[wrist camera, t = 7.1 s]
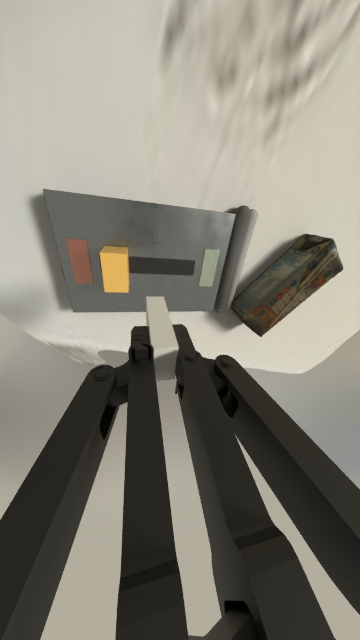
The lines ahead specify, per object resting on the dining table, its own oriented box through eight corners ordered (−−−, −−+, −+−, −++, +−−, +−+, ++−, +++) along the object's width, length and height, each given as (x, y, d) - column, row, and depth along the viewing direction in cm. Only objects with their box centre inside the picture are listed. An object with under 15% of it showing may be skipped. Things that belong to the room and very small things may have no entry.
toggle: (104, 245, 24) (99, 252, 20) (127, 247, 24) (126, 254, 21) (108, 281, 26) (104, 292, 23) (129, 281, 27) (128, 292, 24)
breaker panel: (52, 190, 22) (41, 188, 20) (227, 212, 28) (236, 213, 25) (78, 303, 31) (73, 312, 28) (207, 303, 36) (213, 311, 34)
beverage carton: (318, 260, 36) (350, 270, 31) (245, 323, 42) (261, 341, 36) (305, 231, 32) (339, 237, 27) (226, 304, 38) (240, 322, 32)
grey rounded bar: (233, 204, 27) (241, 204, 25) (255, 207, 28) (264, 208, 26) (210, 308, 37) (214, 314, 35) (227, 308, 38) (231, 314, 36)
